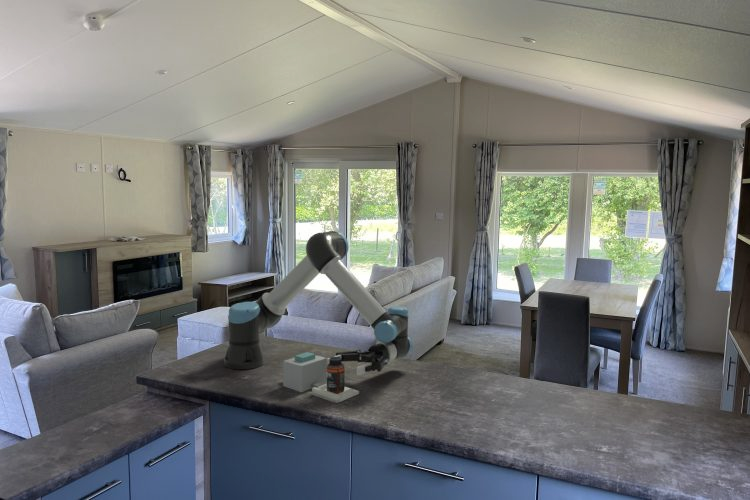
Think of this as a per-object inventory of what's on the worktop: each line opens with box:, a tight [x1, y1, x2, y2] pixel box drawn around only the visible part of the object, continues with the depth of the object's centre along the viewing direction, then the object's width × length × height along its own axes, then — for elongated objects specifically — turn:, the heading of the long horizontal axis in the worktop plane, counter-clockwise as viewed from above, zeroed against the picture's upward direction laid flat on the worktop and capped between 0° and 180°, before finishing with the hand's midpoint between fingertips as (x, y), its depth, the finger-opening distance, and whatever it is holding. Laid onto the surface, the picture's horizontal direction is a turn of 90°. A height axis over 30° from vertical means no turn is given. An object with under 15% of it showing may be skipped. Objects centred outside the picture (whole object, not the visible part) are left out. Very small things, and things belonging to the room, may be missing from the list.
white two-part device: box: [282, 351, 360, 404], centre depth 183 cm, size 28×12×11 cm, turn 52°
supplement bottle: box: [326, 356, 346, 394], centre depth 178 cm, size 6×6×11 cm
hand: (342, 367), depth 179 cm, fingers open, 13 cm apart
